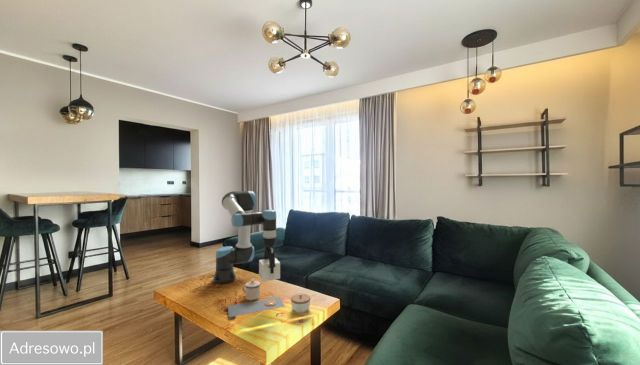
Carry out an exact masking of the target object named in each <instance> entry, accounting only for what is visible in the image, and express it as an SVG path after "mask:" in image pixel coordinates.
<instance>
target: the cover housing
mask: <svg viewBox="0 0 640 365" xmlns="http://www.w3.org/2000/svg"><path fill="white" fill-rule="evenodd" d="M268 267H270V266H269V259H264V258H263V259H259V260H258V276H259V277H260V280H261V281H262V282H267V281H274V280H280V279H281V261H280V260H278V258H276V257H275V267H274V279H269V268H268Z"/></svg>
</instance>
